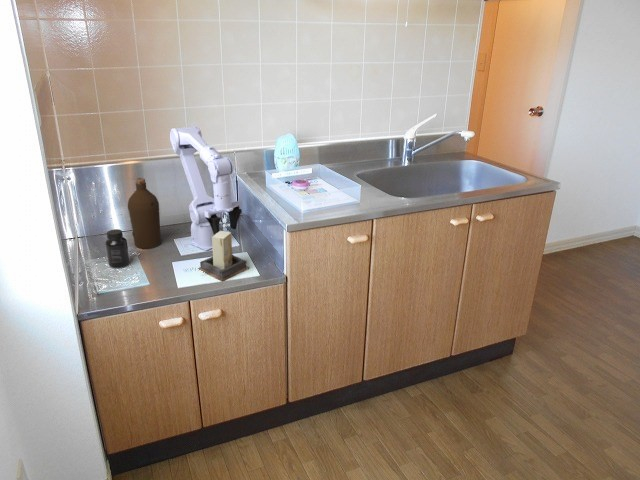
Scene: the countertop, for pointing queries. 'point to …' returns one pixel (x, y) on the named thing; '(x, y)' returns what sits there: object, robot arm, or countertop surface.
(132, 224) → the olive oil
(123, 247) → the supplement bottle
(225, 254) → the skincare box
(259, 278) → the countertop surface
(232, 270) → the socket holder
